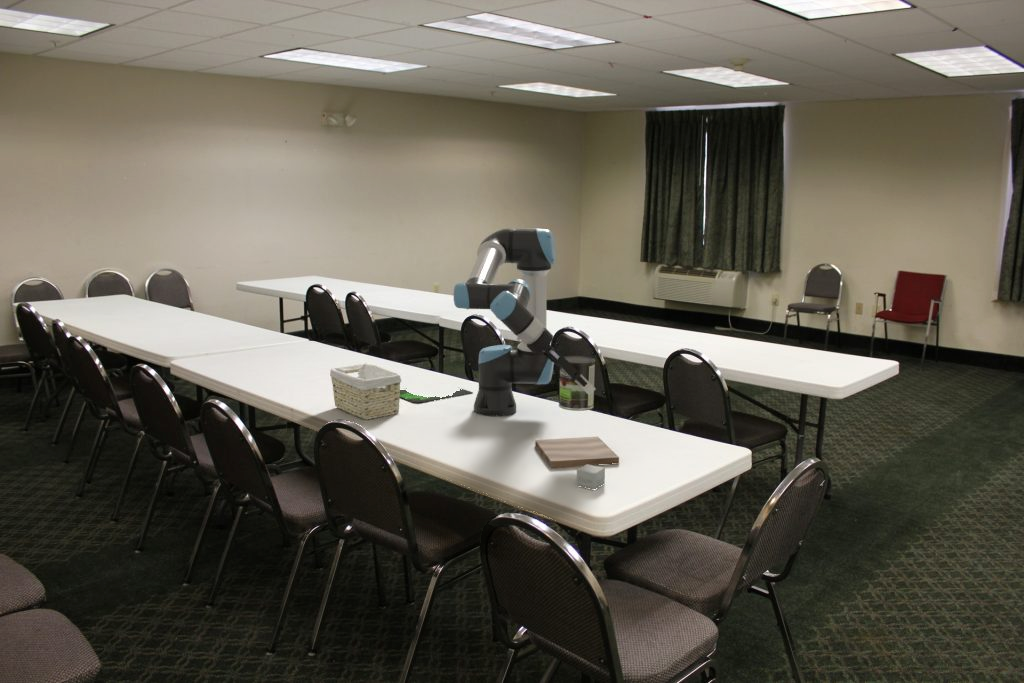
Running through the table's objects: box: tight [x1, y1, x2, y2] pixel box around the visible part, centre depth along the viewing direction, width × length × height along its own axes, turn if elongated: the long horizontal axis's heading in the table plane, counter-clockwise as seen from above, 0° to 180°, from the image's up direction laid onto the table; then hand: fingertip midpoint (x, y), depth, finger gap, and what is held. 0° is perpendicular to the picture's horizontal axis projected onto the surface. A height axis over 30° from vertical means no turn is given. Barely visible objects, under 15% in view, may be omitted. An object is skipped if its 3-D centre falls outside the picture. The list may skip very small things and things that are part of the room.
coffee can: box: [558, 355, 596, 412], centre depth 229 cm, size 10×10×14 cm
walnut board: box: [534, 436, 620, 469], centre depth 233 cm, size 20×20×2 cm
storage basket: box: [329, 362, 402, 421], centre depth 278 cm, size 24×16×15 cm
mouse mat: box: [399, 388, 474, 404], centre depth 306 cm, size 27×22×1 cm
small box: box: [575, 464, 606, 489], centre depth 208 cm, size 6×6×5 cm
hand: (586, 387), depth 230 cm, fingers closed on coffee can, 10 cm apart
